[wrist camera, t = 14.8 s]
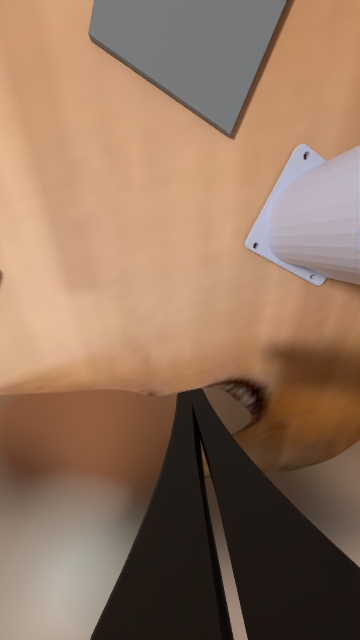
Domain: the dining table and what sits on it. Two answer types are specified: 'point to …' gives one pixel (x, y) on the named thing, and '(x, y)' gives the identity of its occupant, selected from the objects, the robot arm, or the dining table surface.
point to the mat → (191, 48)
